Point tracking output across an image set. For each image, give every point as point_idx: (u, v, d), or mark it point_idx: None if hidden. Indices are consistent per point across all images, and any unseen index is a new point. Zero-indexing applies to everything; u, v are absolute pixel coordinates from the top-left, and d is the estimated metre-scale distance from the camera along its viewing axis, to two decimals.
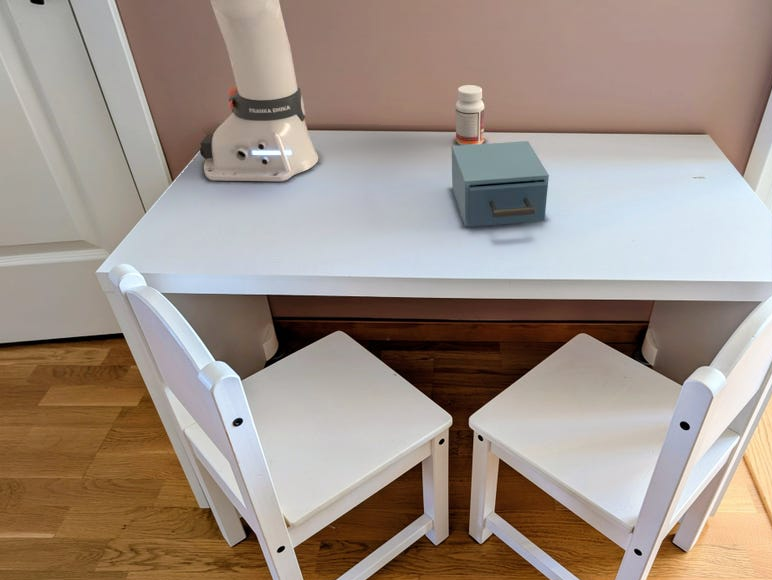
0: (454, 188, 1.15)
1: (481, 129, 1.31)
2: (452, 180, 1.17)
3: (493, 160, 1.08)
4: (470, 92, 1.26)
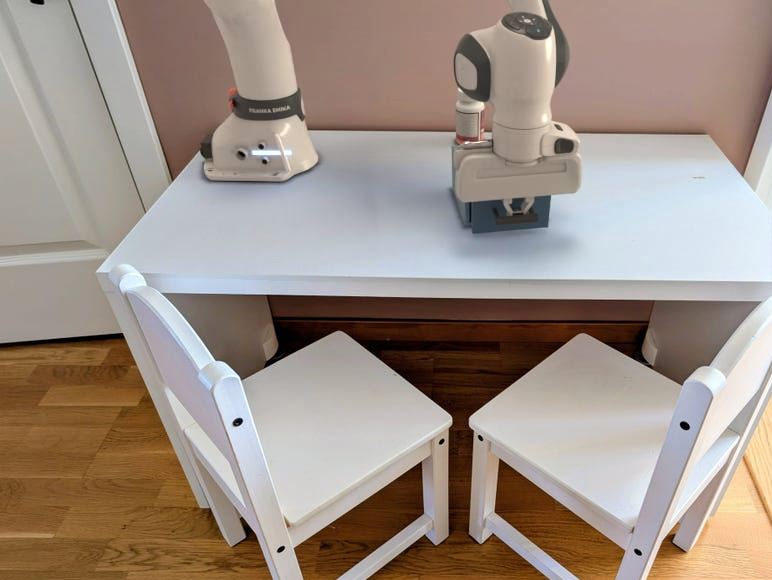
0: (454, 188, 1.15)
1: (481, 129, 1.31)
2: (452, 180, 1.17)
3: None
4: None
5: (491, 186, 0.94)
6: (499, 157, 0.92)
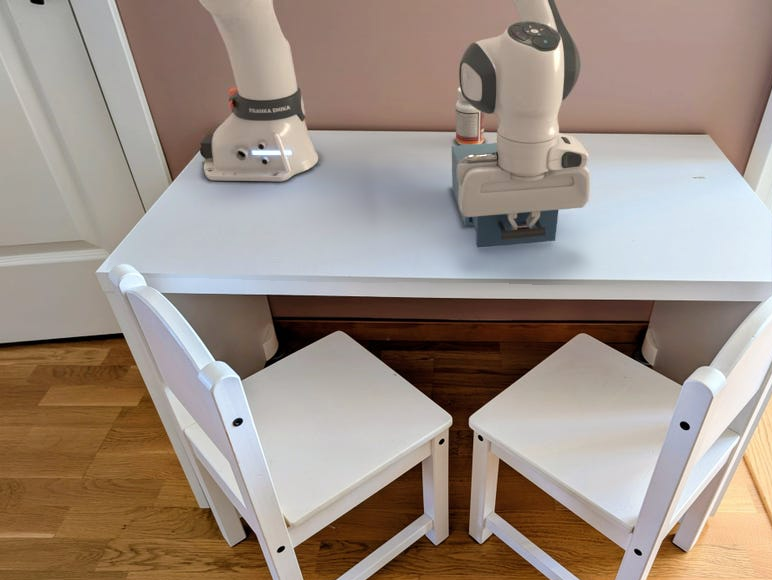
0: (454, 188, 1.15)
1: (481, 129, 1.31)
2: (452, 180, 1.17)
3: None
4: None
5: (496, 200, 0.91)
6: (504, 171, 0.88)
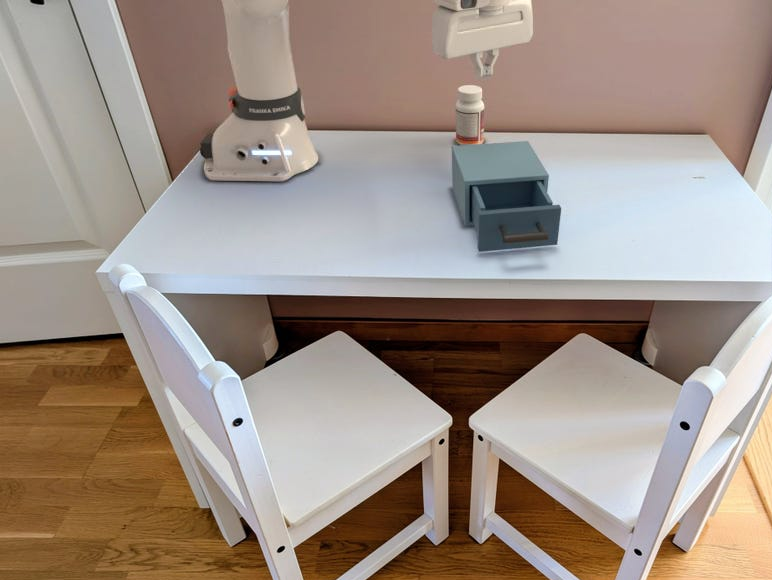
0: (454, 188, 1.15)
1: (481, 129, 1.31)
2: (452, 180, 1.17)
3: (493, 160, 1.08)
4: (470, 92, 1.26)
5: None
6: None
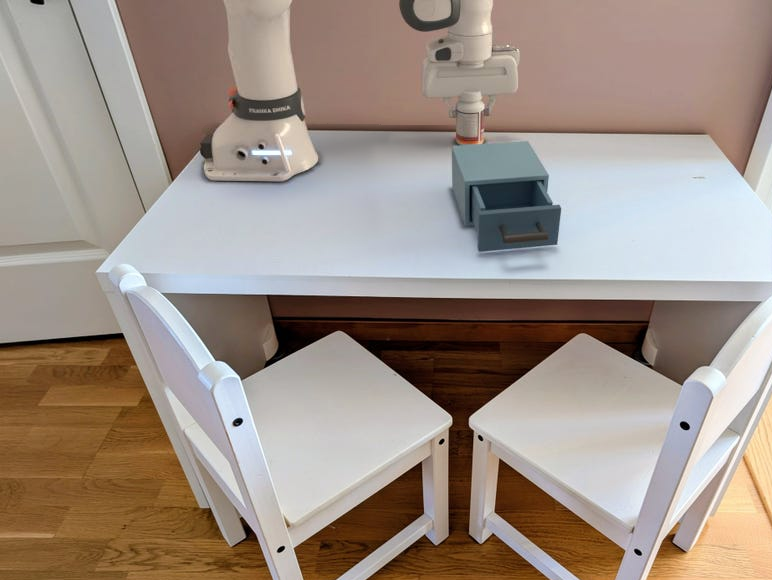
0: (454, 188, 1.15)
1: (481, 129, 1.32)
2: (452, 180, 1.17)
3: (493, 160, 1.08)
4: (470, 92, 1.26)
5: None
6: None
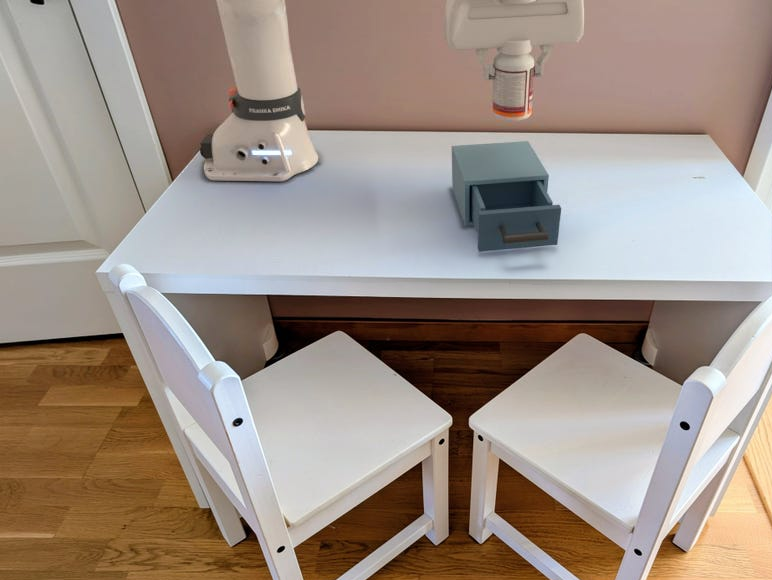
0: (454, 188, 1.15)
1: (529, 96, 0.93)
2: (452, 180, 1.17)
3: (493, 160, 1.08)
4: (515, 41, 0.87)
5: None
6: None
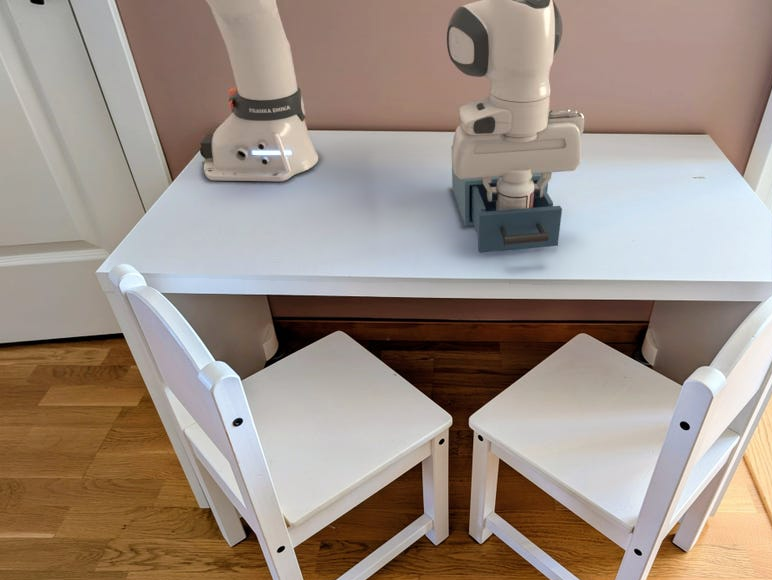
0: (454, 188, 1.15)
1: None
2: (452, 180, 1.17)
3: None
4: (517, 171, 0.94)
5: None
6: None
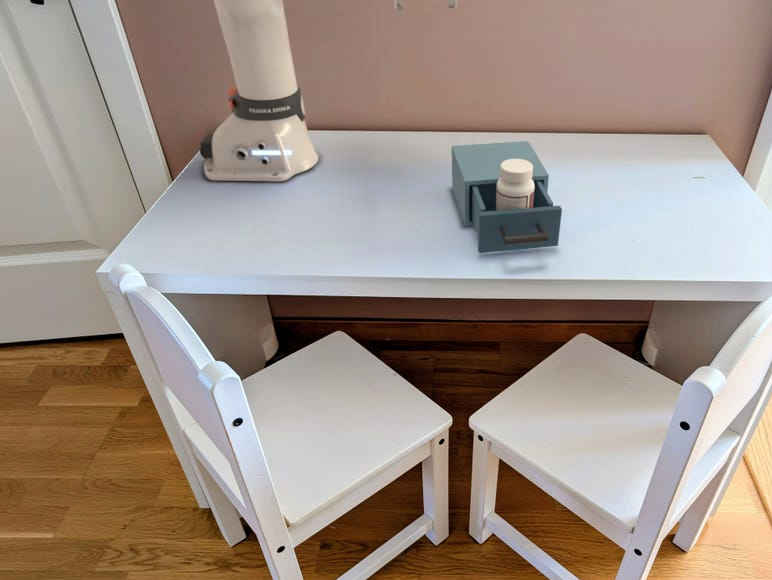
0: (454, 188, 1.15)
1: None
2: (452, 180, 1.17)
3: (493, 160, 1.08)
4: (517, 171, 0.94)
5: None
6: None
